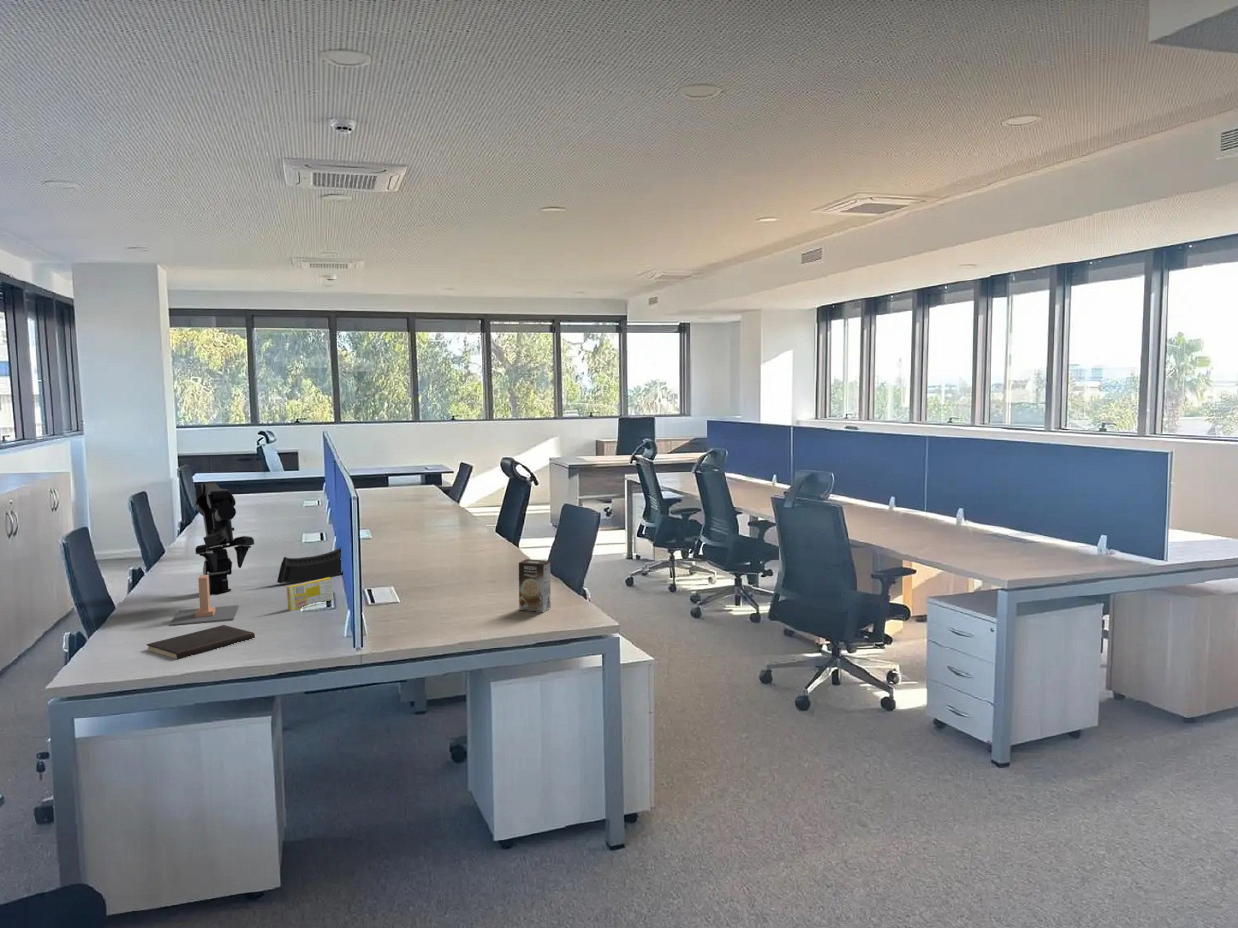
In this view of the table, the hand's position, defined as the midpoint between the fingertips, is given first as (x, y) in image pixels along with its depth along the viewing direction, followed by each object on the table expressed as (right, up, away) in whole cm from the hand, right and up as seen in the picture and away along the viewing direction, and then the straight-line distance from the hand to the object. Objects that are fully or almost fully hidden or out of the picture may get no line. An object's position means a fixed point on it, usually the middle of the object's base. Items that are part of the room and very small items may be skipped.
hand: (227, 570), depth 288 cm
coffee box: (+107, -12, -12) cm, 108 cm away
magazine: (+17, -8, +38) cm, 42 cm away
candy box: (+30, -12, -3) cm, 32 cm away
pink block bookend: (0, -12, -16) cm, 20 cm away
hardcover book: (+14, -16, -46) cm, 51 cm away
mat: (0, -13, -15) cm, 20 cm away
